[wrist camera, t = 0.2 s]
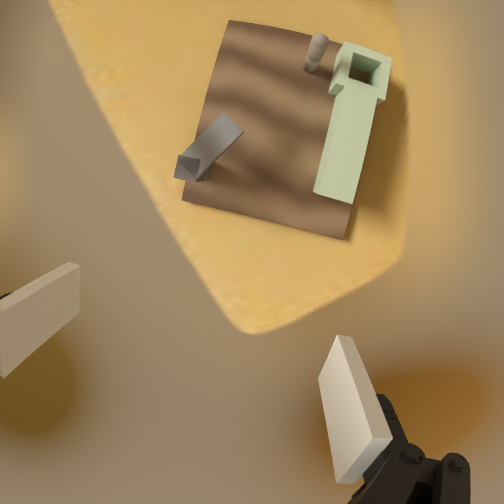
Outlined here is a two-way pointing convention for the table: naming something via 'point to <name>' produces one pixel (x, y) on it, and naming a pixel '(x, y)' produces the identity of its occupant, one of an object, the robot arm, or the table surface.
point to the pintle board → (267, 129)
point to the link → (351, 120)
